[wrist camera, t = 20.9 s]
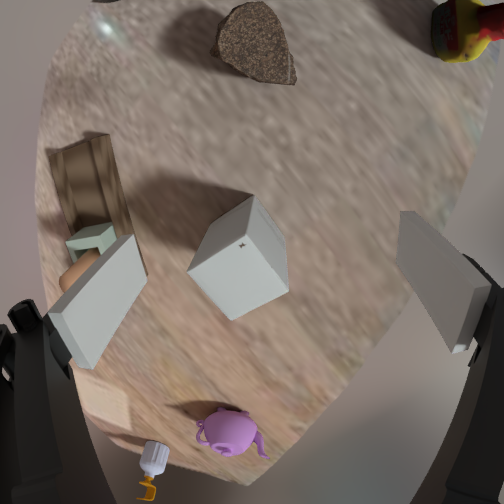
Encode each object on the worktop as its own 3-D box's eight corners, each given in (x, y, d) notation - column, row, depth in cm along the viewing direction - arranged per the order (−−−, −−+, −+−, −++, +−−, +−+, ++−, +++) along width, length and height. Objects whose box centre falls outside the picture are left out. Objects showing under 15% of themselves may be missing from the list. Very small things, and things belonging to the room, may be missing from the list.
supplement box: (208, 223, 47) (182, 271, 34) (254, 193, 45) (245, 231, 31) (241, 265, 50) (229, 323, 37) (286, 239, 48) (291, 292, 34)
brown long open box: (62, 152, 43) (33, 161, 35) (109, 134, 41) (82, 140, 34) (102, 278, 54) (82, 301, 47) (148, 274, 53) (131, 299, 45)
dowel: (89, 243, 46) (55, 275, 36) (107, 240, 46) (73, 274, 36) (97, 263, 48) (65, 298, 38) (114, 261, 47) (84, 297, 38)
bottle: (451, 72, 32) (535, 68, 14) (419, 54, 32) (499, 35, 14) (459, 18, 27) (534, -3, 9) (429, -1, 26) (499, -35, 9)
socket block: (83, 227, 47) (65, 241, 42) (117, 220, 46) (100, 235, 41) (99, 271, 51) (84, 288, 46) (132, 267, 50) (118, 285, 45)
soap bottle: (158, 439, 84) (141, 497, 63) (174, 450, 88) (161, 506, 66) (141, 440, 87) (124, 494, 65) (157, 451, 90) (143, 503, 68)
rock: (317, 75, 32) (261, 106, 29) (269, 84, 40) (218, 113, 37) (275, -8, 25) (208, 11, 22) (232, 17, 33) (175, 40, 30)
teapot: (276, 409, 69) (275, 449, 58) (266, 432, 75) (264, 468, 64) (199, 397, 69) (190, 437, 58) (198, 422, 75) (190, 458, 64)
